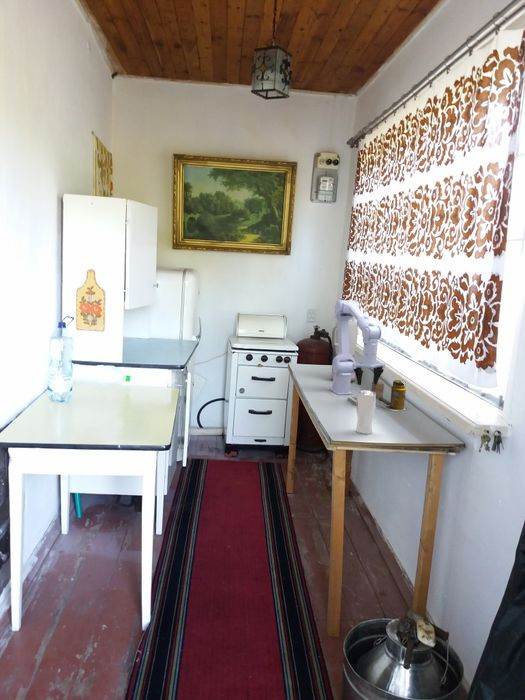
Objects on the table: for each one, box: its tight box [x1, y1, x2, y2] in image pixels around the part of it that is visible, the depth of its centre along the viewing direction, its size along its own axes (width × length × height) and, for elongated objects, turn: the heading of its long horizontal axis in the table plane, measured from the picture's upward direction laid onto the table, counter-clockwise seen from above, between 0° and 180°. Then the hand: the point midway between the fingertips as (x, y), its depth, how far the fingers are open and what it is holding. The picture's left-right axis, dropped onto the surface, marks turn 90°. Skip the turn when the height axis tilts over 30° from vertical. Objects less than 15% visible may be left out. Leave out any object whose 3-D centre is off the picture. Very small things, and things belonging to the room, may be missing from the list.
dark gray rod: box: [378, 397, 390, 405], centre depth 238 cm, size 9×1×1 cm, turn 16°
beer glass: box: [355, 390, 377, 435], centre depth 195 cm, size 7×7×15 cm
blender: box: [330, 319, 359, 382], centre depth 271 cm, size 16×12×32 cm
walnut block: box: [370, 381, 385, 400], centre depth 244 cm, size 4×4×7 cm
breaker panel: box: [347, 395, 358, 407], centre depth 234 cm, size 10×8×2 cm
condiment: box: [382, 379, 407, 412], centre depth 228 cm, size 7×8×12 cm
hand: (367, 384), depth 228 cm, fingers open, 7 cm apart
